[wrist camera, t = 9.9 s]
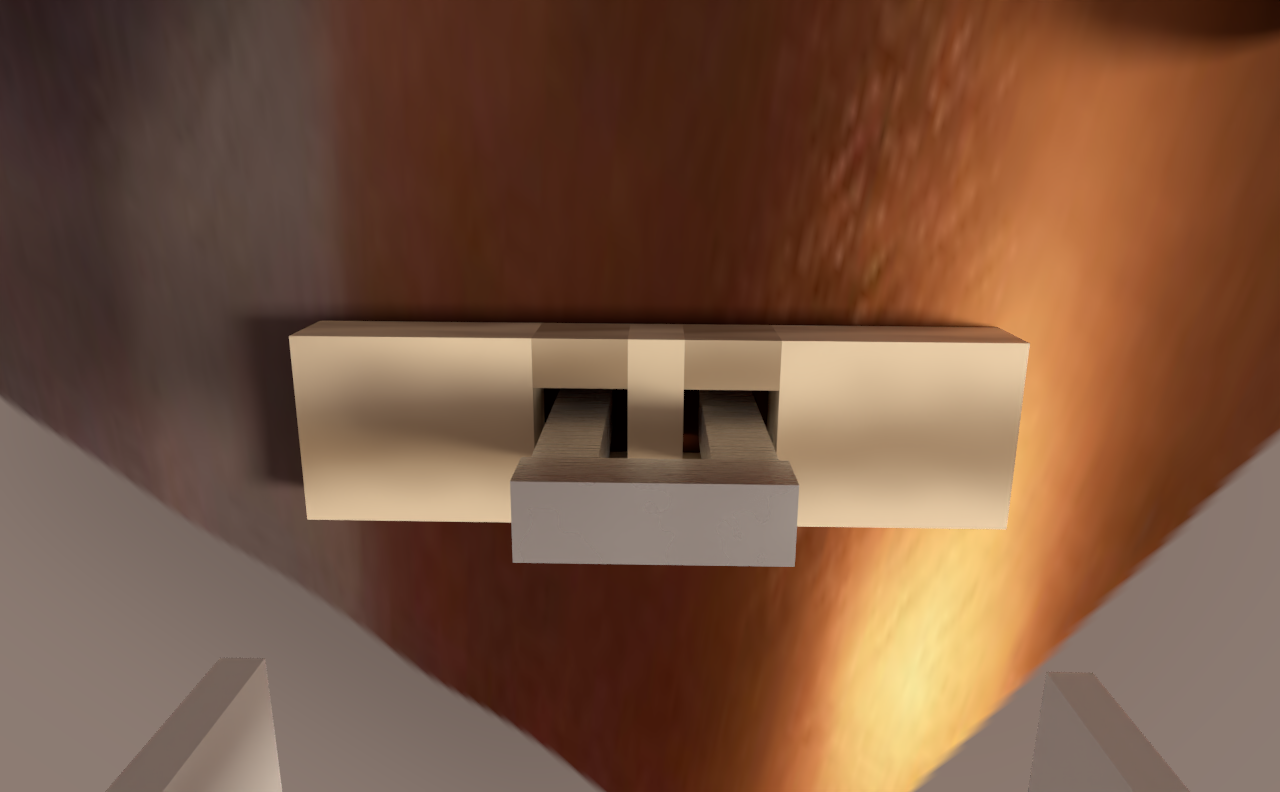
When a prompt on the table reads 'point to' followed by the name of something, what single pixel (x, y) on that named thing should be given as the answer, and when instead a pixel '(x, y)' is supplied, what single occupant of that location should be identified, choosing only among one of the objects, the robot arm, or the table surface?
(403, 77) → the table surface
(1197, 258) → the table surface
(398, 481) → the rail
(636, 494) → the clip
